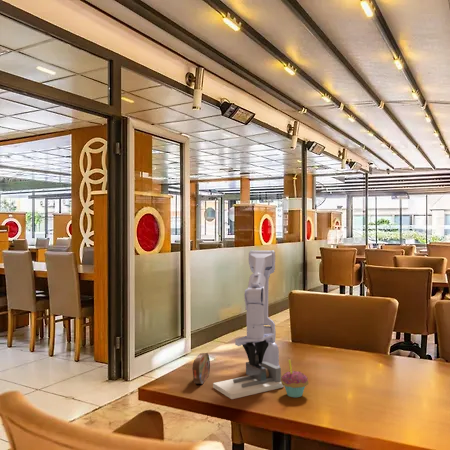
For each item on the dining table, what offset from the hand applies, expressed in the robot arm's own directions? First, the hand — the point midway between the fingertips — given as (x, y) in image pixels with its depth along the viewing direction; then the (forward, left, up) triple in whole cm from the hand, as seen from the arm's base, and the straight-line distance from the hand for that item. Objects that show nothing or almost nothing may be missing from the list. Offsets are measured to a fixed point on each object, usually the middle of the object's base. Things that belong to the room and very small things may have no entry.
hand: (255, 364), depth 153 cm
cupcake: (-6, +13, -7) cm, 16 cm away
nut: (-3, 0, -4) cm, 5 cm away
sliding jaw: (0, 0, -4) cm, 4 cm away
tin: (+13, -15, -8) cm, 21 cm away
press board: (+3, 0, -7) cm, 8 cm away
